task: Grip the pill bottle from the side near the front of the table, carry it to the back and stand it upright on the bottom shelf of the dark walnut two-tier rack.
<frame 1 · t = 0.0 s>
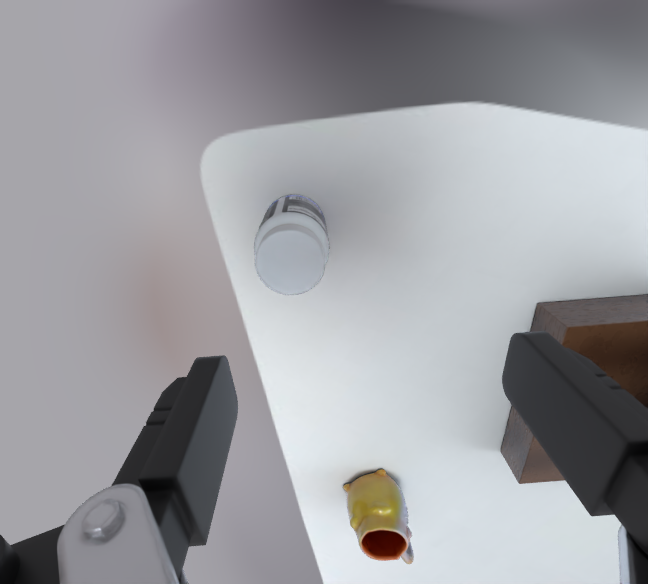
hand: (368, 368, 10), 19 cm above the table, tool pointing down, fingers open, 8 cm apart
shelf: (573, 382, 35), on the table
mug: (380, 495, 43), on the table
pill bottle: (295, 223, 27), on the table
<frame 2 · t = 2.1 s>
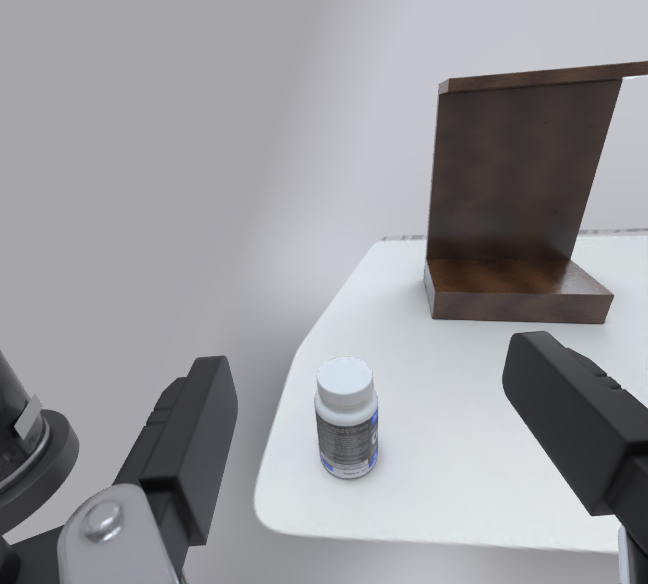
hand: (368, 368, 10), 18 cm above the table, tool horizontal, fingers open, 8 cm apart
shelf: (500, 298, 48), on the table
pill bottle: (348, 454, 28), on the table
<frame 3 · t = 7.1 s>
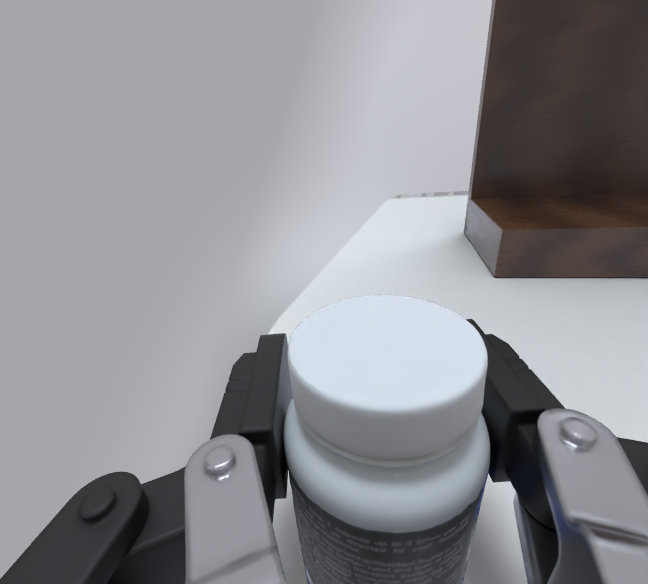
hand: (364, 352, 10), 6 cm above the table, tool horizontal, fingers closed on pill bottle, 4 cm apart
shelf: (591, 250, 31), on the table
pill bottle: (379, 559, 11), on the table, touching gripper
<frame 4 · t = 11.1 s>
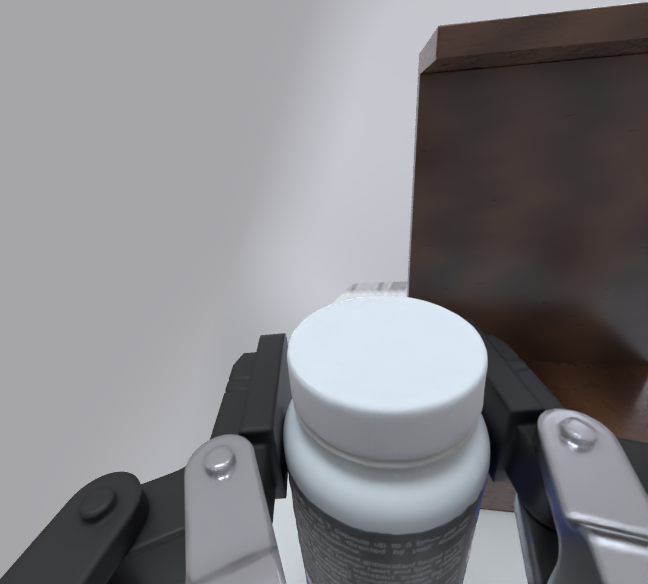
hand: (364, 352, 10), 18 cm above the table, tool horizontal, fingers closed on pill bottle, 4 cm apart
shelf: (534, 439, 27), on the table
pill bottle: (379, 560, 11), point 11 cm above the table, touching gripper
when the fingers open (10 cm above the table, at t = 15.4 s): pill bottle stays where it is, resting on shelf.
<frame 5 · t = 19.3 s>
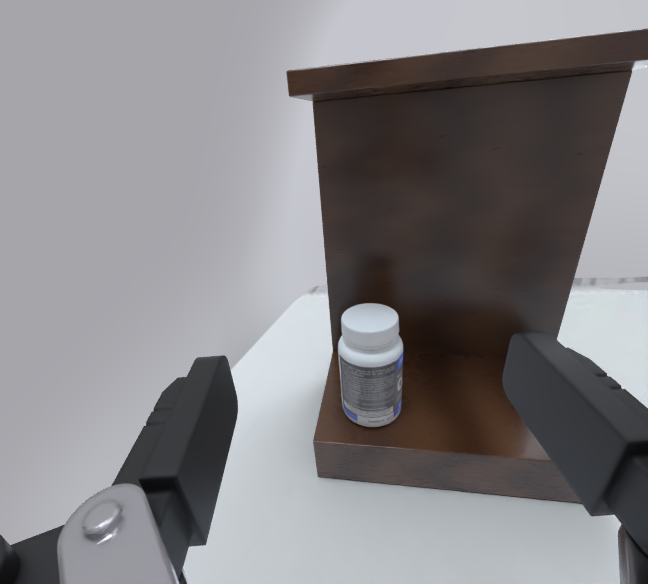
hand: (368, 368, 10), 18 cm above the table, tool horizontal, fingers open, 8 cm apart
shelf: (440, 424, 30), on the table
pill bottle: (371, 407, 27), point 4 cm above the table, touching shelf
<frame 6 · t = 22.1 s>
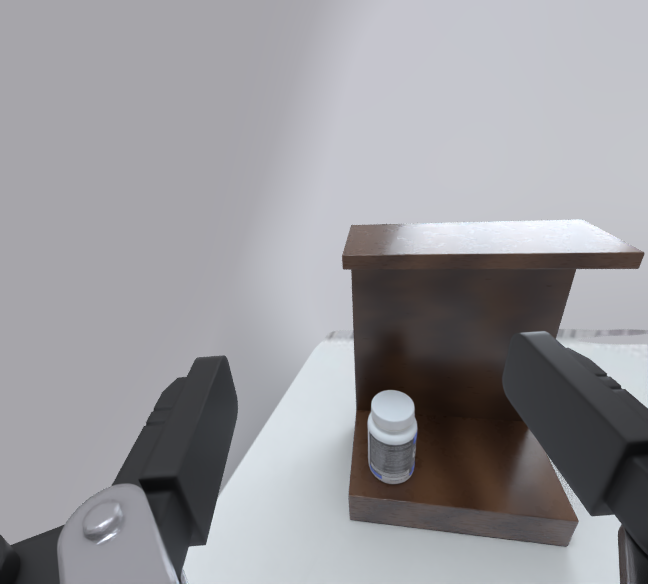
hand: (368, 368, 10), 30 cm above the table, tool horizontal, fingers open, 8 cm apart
shelf: (443, 474, 38), on the table
pill bottle: (390, 465, 35), point 4 cm above the table, touching shelf
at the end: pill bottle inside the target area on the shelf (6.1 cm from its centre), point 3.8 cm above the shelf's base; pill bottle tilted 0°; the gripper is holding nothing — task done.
